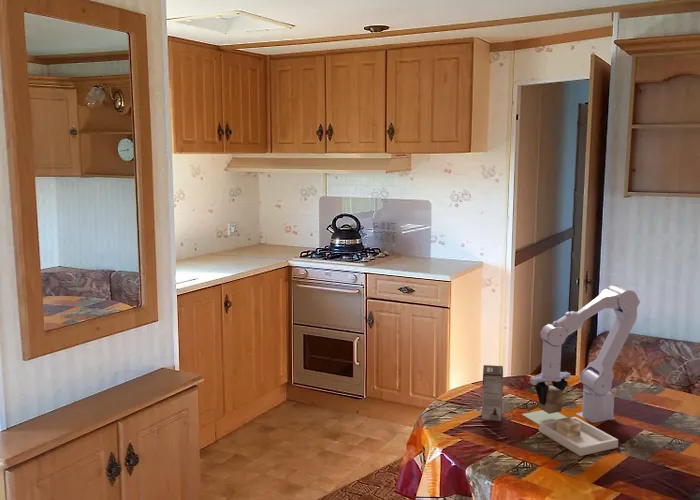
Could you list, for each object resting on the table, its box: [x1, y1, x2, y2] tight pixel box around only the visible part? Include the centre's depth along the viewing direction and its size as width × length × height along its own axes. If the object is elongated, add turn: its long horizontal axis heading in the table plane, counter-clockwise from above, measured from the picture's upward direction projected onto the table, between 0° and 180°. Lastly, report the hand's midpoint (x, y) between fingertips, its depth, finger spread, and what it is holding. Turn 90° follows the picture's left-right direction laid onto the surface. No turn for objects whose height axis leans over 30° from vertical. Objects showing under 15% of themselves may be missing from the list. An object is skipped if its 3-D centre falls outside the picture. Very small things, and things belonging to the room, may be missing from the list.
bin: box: [538, 416, 619, 457], centre depth 198 cm, size 14×18×3 cm
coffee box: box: [481, 364, 504, 422], centre depth 215 cm, size 9×6×16 cm
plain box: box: [556, 416, 581, 438], centre depth 201 cm, size 5×5×4 cm
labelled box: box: [538, 384, 564, 414], centre depth 211 cm, size 5×5×7 cm
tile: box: [521, 409, 568, 426], centre depth 213 cm, size 12×12×1 cm
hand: (549, 402), depth 212 cm, fingers closed on labelled box, 5 cm apart
